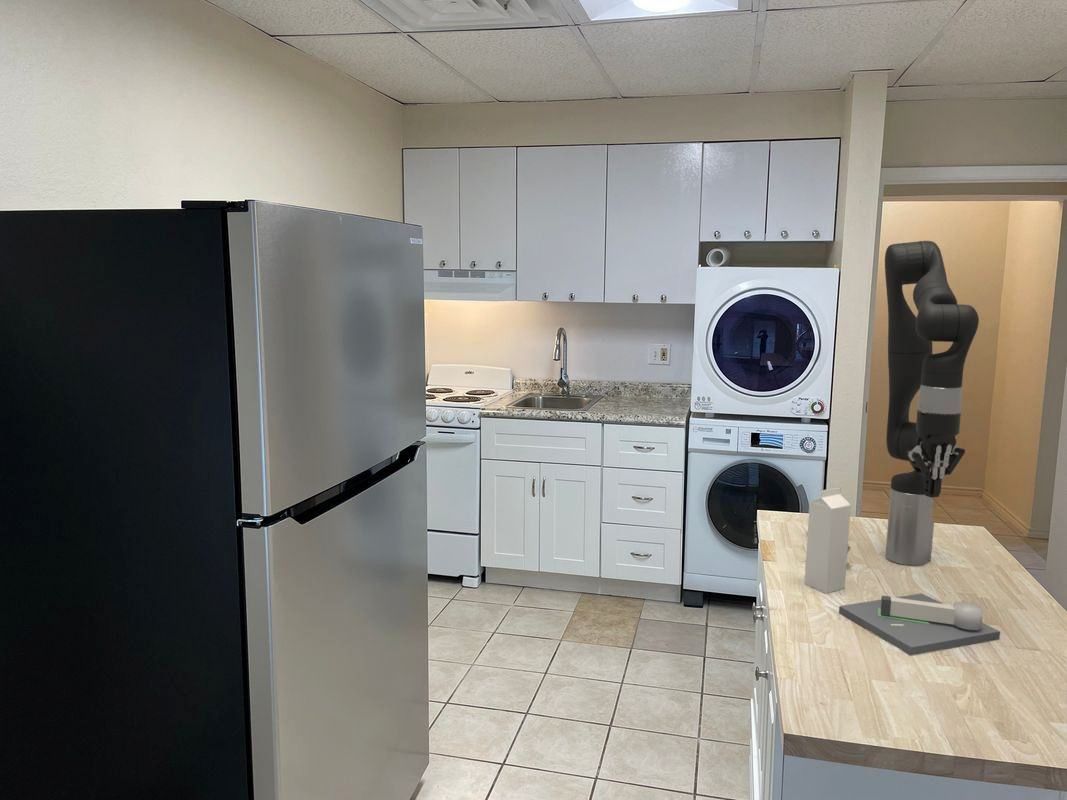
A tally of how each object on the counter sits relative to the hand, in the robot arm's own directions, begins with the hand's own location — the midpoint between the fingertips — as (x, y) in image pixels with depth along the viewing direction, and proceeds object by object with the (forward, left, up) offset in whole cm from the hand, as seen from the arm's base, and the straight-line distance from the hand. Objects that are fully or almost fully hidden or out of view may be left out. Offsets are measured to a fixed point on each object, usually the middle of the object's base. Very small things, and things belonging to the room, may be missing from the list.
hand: (931, 496), depth 156 cm
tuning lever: (+3, +5, -23) cm, 24 cm away
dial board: (+4, +3, -25) cm, 25 cm away
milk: (+8, -19, -25) cm, 32 cm away
